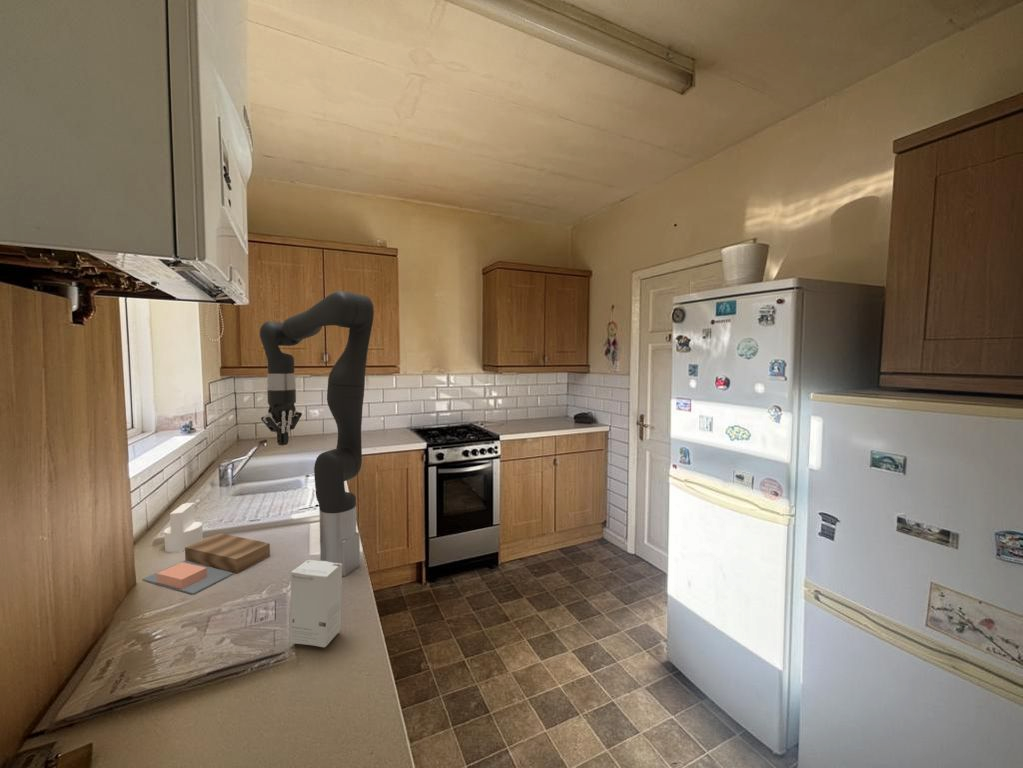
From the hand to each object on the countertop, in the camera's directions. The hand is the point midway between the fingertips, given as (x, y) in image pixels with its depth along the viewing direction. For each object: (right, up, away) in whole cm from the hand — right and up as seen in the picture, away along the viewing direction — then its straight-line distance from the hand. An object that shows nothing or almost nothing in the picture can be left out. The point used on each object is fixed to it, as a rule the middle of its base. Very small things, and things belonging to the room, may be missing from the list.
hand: (283, 444), depth 124 cm
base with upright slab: (-30, -31, -1) cm, 43 cm away
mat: (-15, -32, -18) cm, 40 cm away
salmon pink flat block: (-15, -29, -20) cm, 38 cm away
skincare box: (+30, -34, -40) cm, 60 cm away
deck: (-11, -31, -8) cm, 34 cm away
